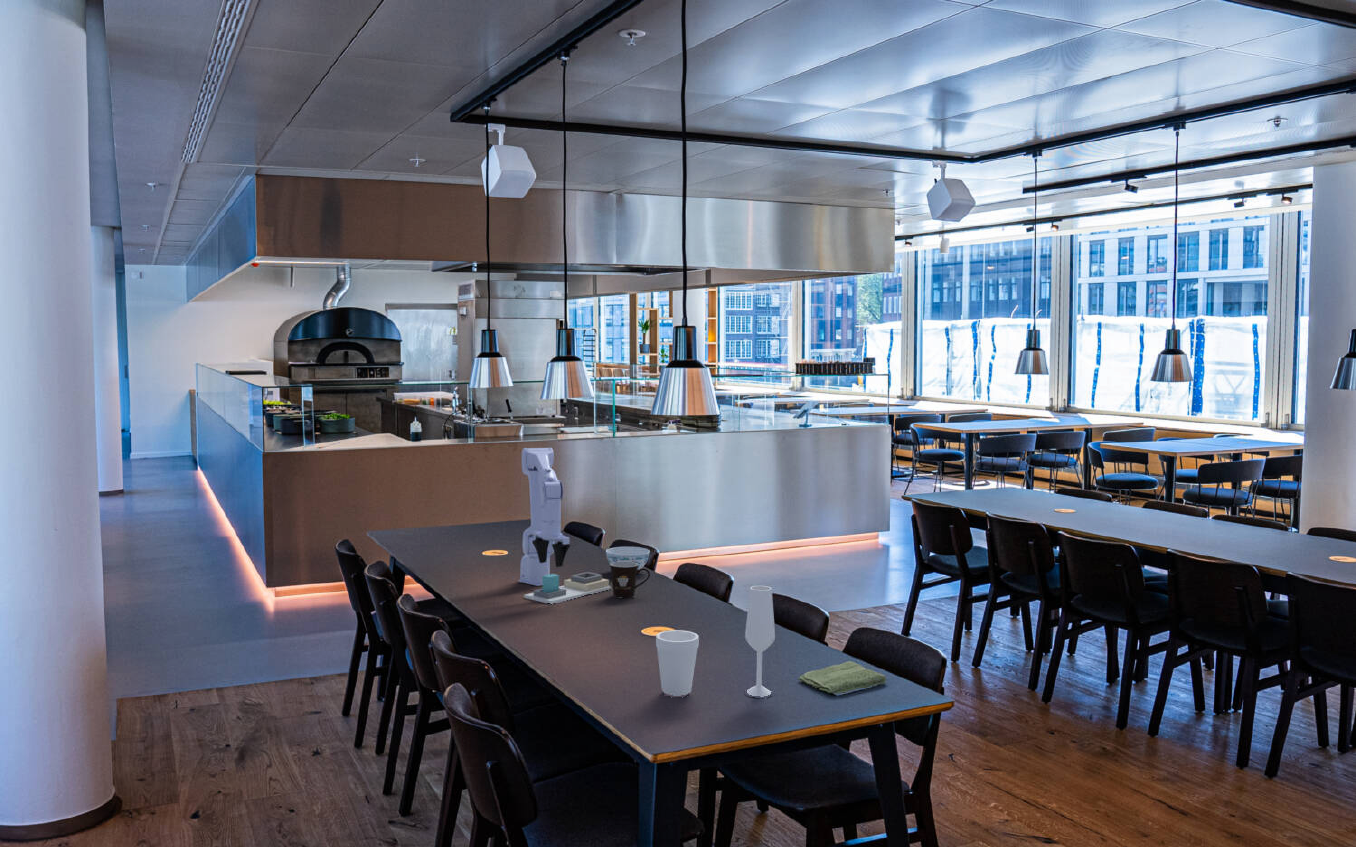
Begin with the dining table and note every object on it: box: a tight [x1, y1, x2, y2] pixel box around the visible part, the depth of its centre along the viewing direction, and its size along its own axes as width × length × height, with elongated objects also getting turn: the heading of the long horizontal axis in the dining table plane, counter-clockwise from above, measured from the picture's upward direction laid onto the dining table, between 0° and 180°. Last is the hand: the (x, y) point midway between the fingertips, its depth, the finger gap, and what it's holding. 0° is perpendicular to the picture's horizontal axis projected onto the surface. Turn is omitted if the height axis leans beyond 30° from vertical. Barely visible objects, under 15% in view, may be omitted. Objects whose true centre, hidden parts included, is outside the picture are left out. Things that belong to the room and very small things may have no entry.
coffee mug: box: [609, 561, 651, 599], centre depth 317 cm, size 12×9×10 cm
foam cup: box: [655, 629, 700, 696], centre depth 228 cm, size 10×9×13 cm
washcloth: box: [798, 660, 888, 694], centre depth 237 cm, size 13×18×3 cm
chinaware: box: [605, 546, 651, 570], centre depth 350 cm, size 15×15×8 cm
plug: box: [542, 573, 560, 593], centre depth 313 cm, size 3×4×6 cm
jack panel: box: [524, 571, 612, 605], centre depth 319 cm, size 12×26×4 cm, turn 141°
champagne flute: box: [744, 585, 776, 697], centre depth 228 cm, size 7×7×24 cm
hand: (551, 564), depth 313 cm, fingers open, 7 cm apart
